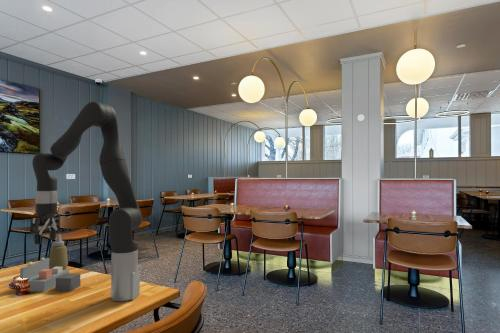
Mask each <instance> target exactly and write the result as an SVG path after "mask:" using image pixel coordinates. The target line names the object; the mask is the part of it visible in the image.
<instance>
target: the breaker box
mask: <svg viewBox="0 0 500 333" xmlns="http://www.w3.org/2000/svg"><path fill="white" fill-rule="evenodd" d="M43 269H49V257H48V258H46V257H40V260H39V261H36V262H34V263H33V262H32V261H29V262H28V263H27V265H25V266H23V267H20V270H19V271H20V273H19V277H20V278H22V279H23V278H30V279H29V280H28V281H27V282H28V283H29V285H30V291H29V292H37V293H39V292H40V293H42V292H43V293H44V292H46V291H49V290H51V289H52V288H54V287H55V286H56V278H57V277H59V276H61V275H63V274H66V273H70V269H66V270H63V267H54V268H51V269H52V277H50V278H48V279H39V271H41V270H43ZM20 278H19V279H20Z"/></svg>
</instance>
